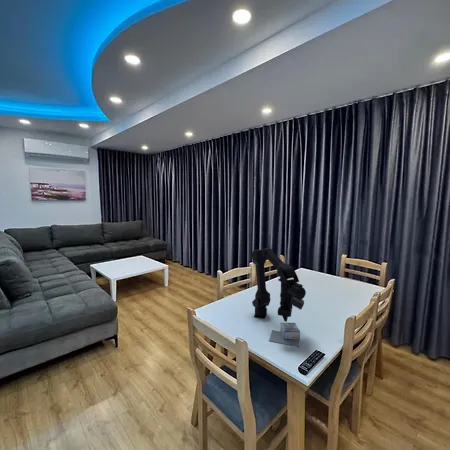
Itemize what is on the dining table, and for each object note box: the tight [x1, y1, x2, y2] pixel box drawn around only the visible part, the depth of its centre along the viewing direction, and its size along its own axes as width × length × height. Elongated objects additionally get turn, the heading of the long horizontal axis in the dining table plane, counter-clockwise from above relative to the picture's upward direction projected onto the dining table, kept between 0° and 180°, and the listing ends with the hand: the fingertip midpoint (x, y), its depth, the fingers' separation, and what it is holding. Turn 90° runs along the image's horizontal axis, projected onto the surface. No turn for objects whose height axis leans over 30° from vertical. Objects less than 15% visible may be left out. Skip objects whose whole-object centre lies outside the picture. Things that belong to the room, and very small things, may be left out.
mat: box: [268, 329, 300, 348], centre depth 120 cm, size 14×10×1 cm
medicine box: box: [279, 322, 301, 341], centre depth 122 cm, size 8×4×9 cm
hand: (285, 321), depth 122 cm, fingers closed
